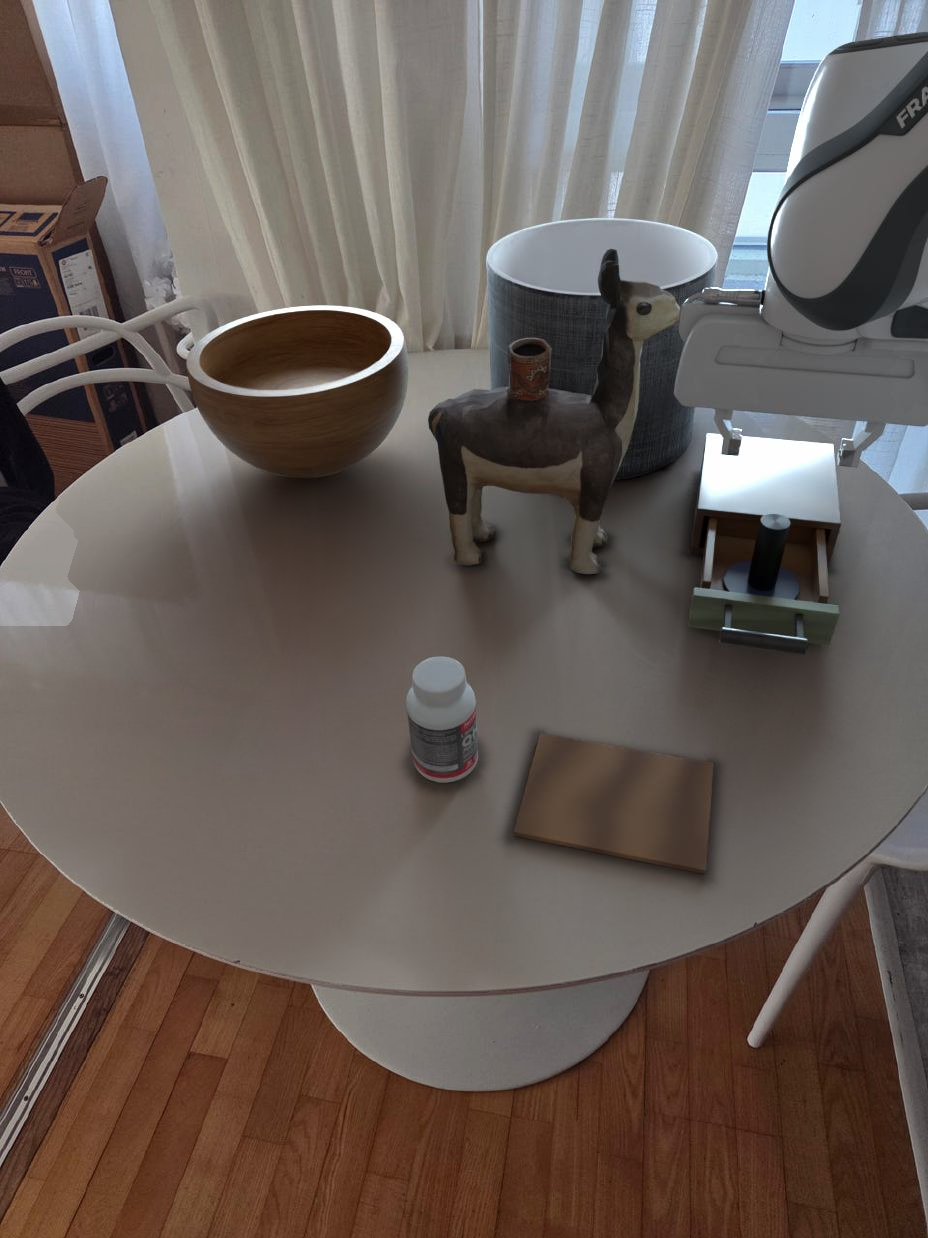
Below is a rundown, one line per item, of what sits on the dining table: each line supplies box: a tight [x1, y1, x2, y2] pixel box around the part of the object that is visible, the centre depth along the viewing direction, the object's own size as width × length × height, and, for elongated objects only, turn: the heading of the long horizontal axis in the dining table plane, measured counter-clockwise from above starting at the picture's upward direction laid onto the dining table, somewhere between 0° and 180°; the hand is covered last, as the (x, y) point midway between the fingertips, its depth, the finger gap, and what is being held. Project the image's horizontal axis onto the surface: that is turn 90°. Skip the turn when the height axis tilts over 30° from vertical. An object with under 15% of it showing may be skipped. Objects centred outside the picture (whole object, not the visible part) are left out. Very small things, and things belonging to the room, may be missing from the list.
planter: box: [485, 217, 719, 481], centre depth 103 cm, size 25×25×22 cm
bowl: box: [186, 305, 410, 479], centre depth 102 cm, size 25×25×15 cm
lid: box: [723, 513, 800, 600], centre depth 79 cm, size 7×7×8 cm
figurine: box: [427, 249, 680, 575], centre depth 82 cm, size 10×23×30 cm, turn 82°
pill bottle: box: [405, 656, 479, 784], centre depth 67 cm, size 5×5×10 cm
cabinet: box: [689, 432, 842, 571], centre depth 92 cm, size 16×14×6 cm
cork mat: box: [513, 733, 715, 875], centre depth 66 cm, size 14×10×1 cm
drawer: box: [687, 516, 840, 656], centre depth 80 cm, size 19×12×4 cm, turn 165°
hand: (787, 457), depth 73 cm, fingers open, 8 cm apart
